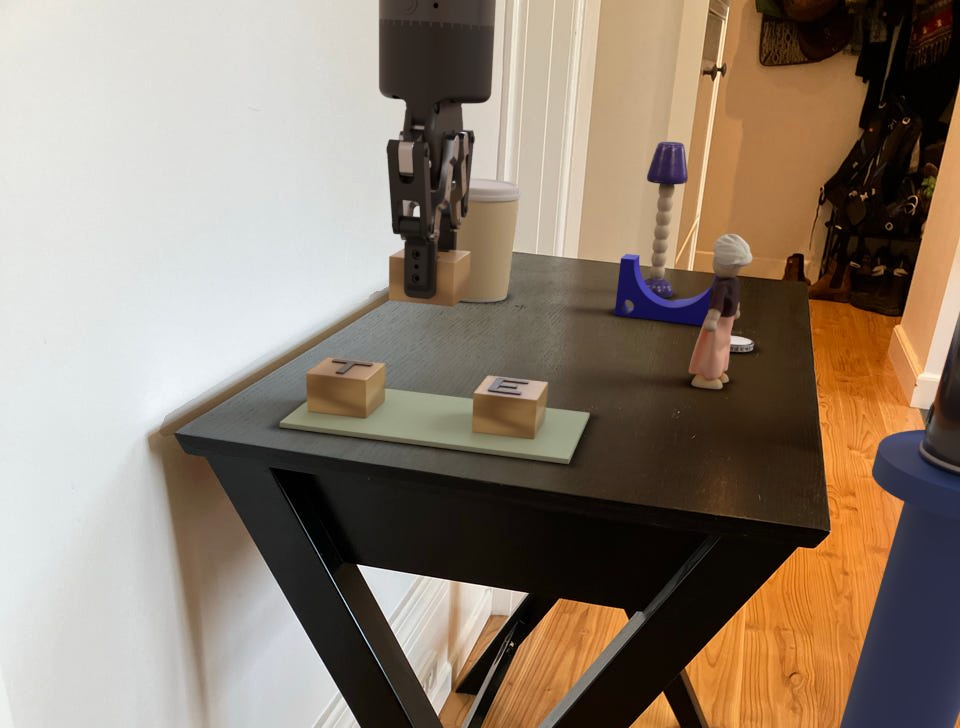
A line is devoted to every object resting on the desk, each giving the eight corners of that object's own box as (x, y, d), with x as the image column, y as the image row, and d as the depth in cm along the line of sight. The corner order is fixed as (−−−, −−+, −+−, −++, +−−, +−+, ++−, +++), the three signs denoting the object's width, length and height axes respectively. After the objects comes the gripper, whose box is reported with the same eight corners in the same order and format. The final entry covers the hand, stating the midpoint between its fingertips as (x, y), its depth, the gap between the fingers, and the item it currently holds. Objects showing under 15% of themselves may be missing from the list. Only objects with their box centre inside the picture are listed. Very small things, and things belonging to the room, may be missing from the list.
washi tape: (753, 353, 100) (754, 347, 100) (712, 349, 101) (713, 343, 100) (752, 343, 104) (753, 337, 103) (713, 339, 104) (714, 333, 104)
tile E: (545, 419, 79) (548, 380, 77) (534, 439, 75) (537, 398, 73) (485, 412, 79) (487, 373, 78) (471, 431, 75) (473, 391, 74)
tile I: (469, 293, 76) (471, 249, 74) (453, 307, 71) (454, 260, 70) (407, 287, 76) (408, 243, 75) (388, 300, 72) (388, 254, 71)
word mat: (589, 417, 81) (589, 412, 81) (568, 464, 72) (568, 459, 71) (330, 386, 85) (330, 381, 84) (279, 427, 75) (279, 422, 75)
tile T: (385, 400, 81) (385, 361, 79) (366, 418, 77) (365, 378, 75) (329, 393, 82) (328, 355, 80) (307, 411, 78) (305, 371, 76)
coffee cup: (437, 284, 121) (440, 175, 115) (514, 288, 121) (521, 180, 115) (430, 301, 113) (433, 185, 107) (513, 306, 113) (520, 191, 107)
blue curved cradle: (727, 319, 113) (736, 263, 110) (722, 328, 109) (732, 270, 106) (622, 306, 116) (628, 251, 113) (614, 314, 112) (620, 258, 109)
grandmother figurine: (692, 369, 94) (715, 225, 88) (733, 375, 93) (759, 230, 87) (681, 392, 88) (704, 239, 82) (725, 398, 87) (752, 243, 81)
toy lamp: (663, 300, 120) (684, 145, 111) (627, 294, 122) (645, 141, 113) (677, 294, 123) (698, 143, 115) (642, 288, 125) (660, 139, 117)
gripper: (466, 16, 58) (455, 317, 67) (515, 23, 70) (500, 277, 79) (343, 10, 60) (348, 305, 68) (412, 17, 72) (409, 267, 80)
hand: (430, 288), depth 74 cm, fingers closed on tile I, 4 cm apart
